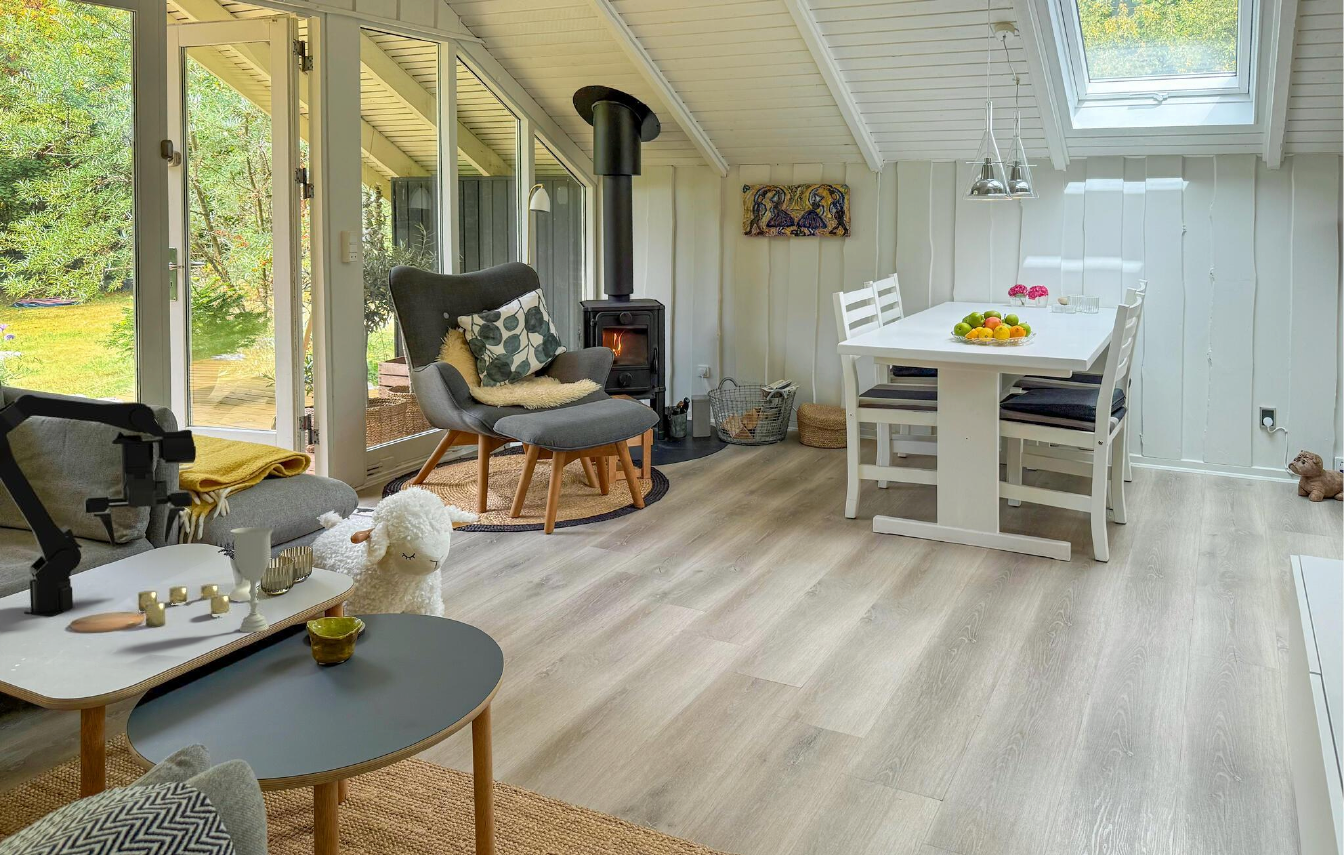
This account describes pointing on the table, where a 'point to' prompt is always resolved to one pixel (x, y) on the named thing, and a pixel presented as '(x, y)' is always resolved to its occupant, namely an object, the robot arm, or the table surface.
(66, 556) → the robot arm
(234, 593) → the cream white mushroom
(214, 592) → the spacer field
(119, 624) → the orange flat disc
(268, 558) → the chalice
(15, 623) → the table surface
